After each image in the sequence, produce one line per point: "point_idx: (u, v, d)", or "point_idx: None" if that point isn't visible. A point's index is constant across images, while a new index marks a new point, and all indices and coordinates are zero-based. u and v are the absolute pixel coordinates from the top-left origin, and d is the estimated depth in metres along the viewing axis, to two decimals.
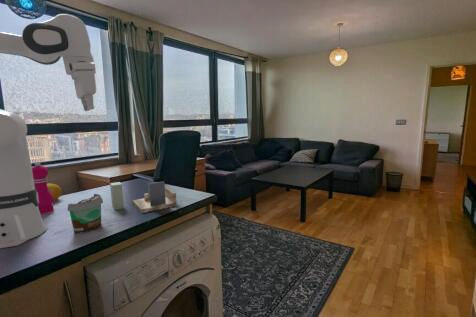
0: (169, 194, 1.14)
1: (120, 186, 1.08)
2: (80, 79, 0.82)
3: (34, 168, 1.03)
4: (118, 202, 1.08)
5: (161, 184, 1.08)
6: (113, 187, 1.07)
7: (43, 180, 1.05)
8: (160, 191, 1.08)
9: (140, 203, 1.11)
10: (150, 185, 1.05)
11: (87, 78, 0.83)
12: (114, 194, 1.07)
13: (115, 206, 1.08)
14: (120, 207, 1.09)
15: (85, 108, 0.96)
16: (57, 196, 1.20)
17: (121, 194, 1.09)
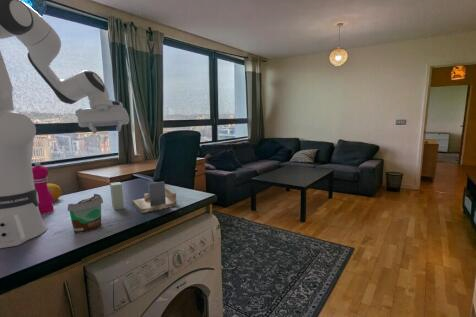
0: (169, 194, 1.14)
1: (120, 186, 1.08)
2: (126, 112, 1.23)
3: (34, 168, 1.03)
4: (118, 202, 1.08)
5: (161, 184, 1.08)
6: (113, 187, 1.07)
7: (43, 180, 1.05)
8: (160, 191, 1.08)
9: (140, 203, 1.11)
10: (150, 185, 1.05)
11: None
12: (114, 194, 1.07)
13: (115, 206, 1.08)
14: (120, 207, 1.09)
15: None
16: (57, 196, 1.20)
17: (121, 194, 1.09)
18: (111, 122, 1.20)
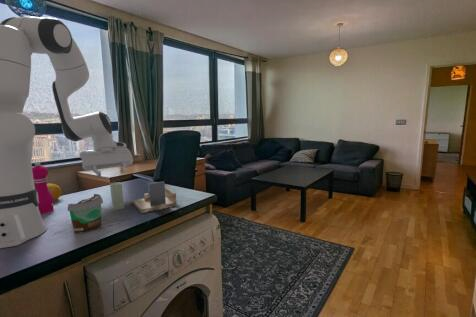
0: (169, 194, 1.14)
1: (120, 186, 1.08)
2: (130, 153, 1.24)
3: (34, 168, 1.03)
4: (118, 202, 1.08)
5: (161, 184, 1.08)
6: (113, 187, 1.07)
7: (43, 180, 1.05)
8: (160, 191, 1.08)
9: (140, 203, 1.11)
10: (150, 185, 1.05)
11: None
12: (114, 194, 1.07)
13: (115, 206, 1.08)
14: (120, 207, 1.09)
15: (100, 173, 1.14)
16: (57, 196, 1.20)
17: (121, 194, 1.09)
18: (115, 164, 1.20)
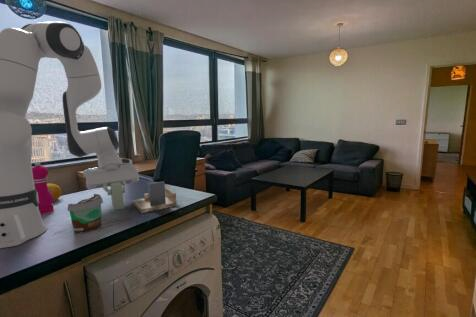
0: (169, 194, 1.14)
1: (120, 186, 1.08)
2: (136, 169, 1.18)
3: (34, 168, 1.03)
4: (118, 202, 1.08)
5: (161, 184, 1.08)
6: (113, 187, 1.07)
7: (43, 180, 1.05)
8: (160, 191, 1.08)
9: (140, 203, 1.11)
10: (150, 185, 1.05)
11: None
12: (114, 194, 1.07)
13: (115, 206, 1.08)
14: (120, 207, 1.09)
15: None
16: (57, 196, 1.20)
17: (121, 194, 1.09)
18: None
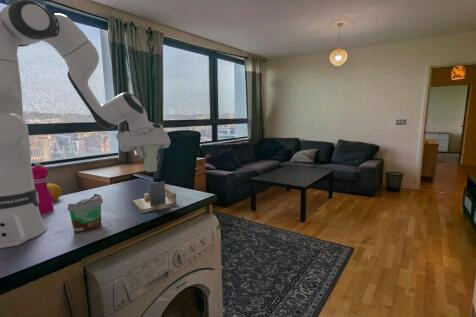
0: (169, 194, 1.14)
1: (154, 148, 1.07)
2: (167, 134, 1.17)
3: (34, 168, 1.03)
4: (152, 165, 1.08)
5: (161, 184, 1.08)
6: (147, 149, 1.06)
7: (43, 180, 1.05)
8: (160, 191, 1.08)
9: (140, 203, 1.11)
10: (150, 185, 1.05)
11: None
12: (148, 156, 1.06)
13: (149, 168, 1.07)
14: (154, 170, 1.08)
15: (144, 154, 1.08)
16: (57, 196, 1.20)
17: (155, 156, 1.08)
18: None
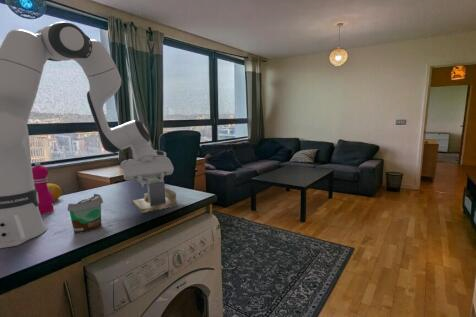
0: (169, 194, 1.14)
1: (157, 181, 1.09)
2: (170, 162, 1.19)
3: (34, 168, 1.03)
4: None
5: (161, 184, 1.08)
6: (151, 182, 1.08)
7: (43, 180, 1.05)
8: (160, 191, 1.08)
9: (140, 203, 1.11)
10: (150, 185, 1.05)
11: None
12: None
13: None
14: None
15: (145, 183, 1.09)
16: (57, 196, 1.20)
17: None
18: (156, 173, 1.15)
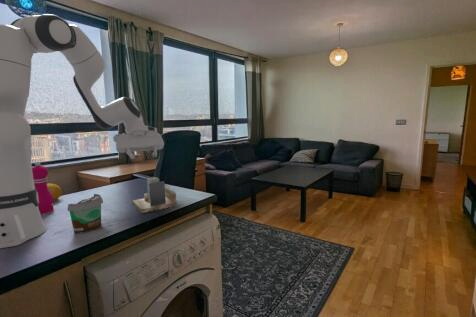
0: (169, 194, 1.14)
1: (157, 181, 1.09)
2: (161, 137, 1.26)
3: (34, 168, 1.03)
4: None
5: (161, 184, 1.08)
6: (151, 182, 1.08)
7: (43, 180, 1.05)
8: (160, 191, 1.08)
9: (140, 203, 1.11)
10: (150, 185, 1.05)
11: None
12: None
13: None
14: None
15: None
16: (57, 196, 1.20)
17: None
18: (147, 147, 1.22)
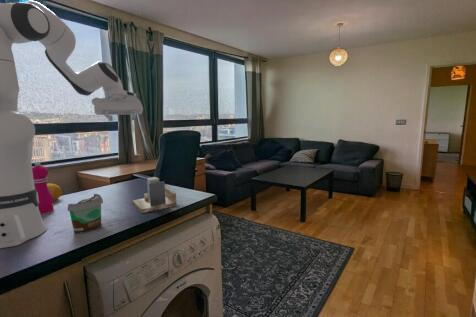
0: (169, 194, 1.14)
1: (157, 181, 1.09)
2: (140, 102, 1.27)
3: (34, 168, 1.03)
4: None
5: (161, 184, 1.08)
6: (151, 182, 1.08)
7: (43, 180, 1.05)
8: (160, 191, 1.08)
9: (140, 203, 1.11)
10: (150, 185, 1.05)
11: None
12: None
13: None
14: None
15: None
16: (57, 196, 1.20)
17: None
18: (126, 111, 1.23)
